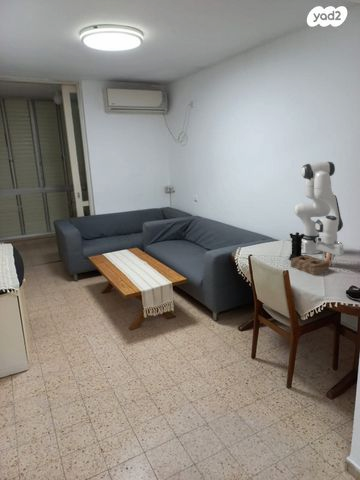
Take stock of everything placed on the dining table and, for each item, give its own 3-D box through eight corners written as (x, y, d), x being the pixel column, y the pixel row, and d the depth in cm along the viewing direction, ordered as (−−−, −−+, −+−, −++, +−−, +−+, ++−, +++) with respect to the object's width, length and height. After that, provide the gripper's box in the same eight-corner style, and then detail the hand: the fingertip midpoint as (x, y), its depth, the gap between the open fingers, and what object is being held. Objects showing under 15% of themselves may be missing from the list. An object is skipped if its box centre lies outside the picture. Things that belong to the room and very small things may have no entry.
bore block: (290, 266, 232) (291, 258, 231) (305, 262, 238) (305, 254, 237) (313, 275, 215) (313, 266, 213) (328, 270, 221) (329, 262, 219)
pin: (324, 265, 230) (325, 252, 227) (328, 264, 231) (328, 251, 228) (328, 267, 227) (329, 253, 224) (332, 266, 228) (333, 252, 225)
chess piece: (296, 257, 250) (297, 232, 244) (304, 260, 242) (305, 234, 237) (288, 259, 247) (288, 233, 242) (295, 262, 240) (296, 236, 234)
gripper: (346, 242, 216) (345, 262, 220) (321, 236, 234) (320, 254, 238) (339, 244, 213) (338, 264, 217) (314, 237, 231) (314, 256, 235)
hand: (328, 259), depth 227 cm, fingers closed on pin, 3 cm apart
